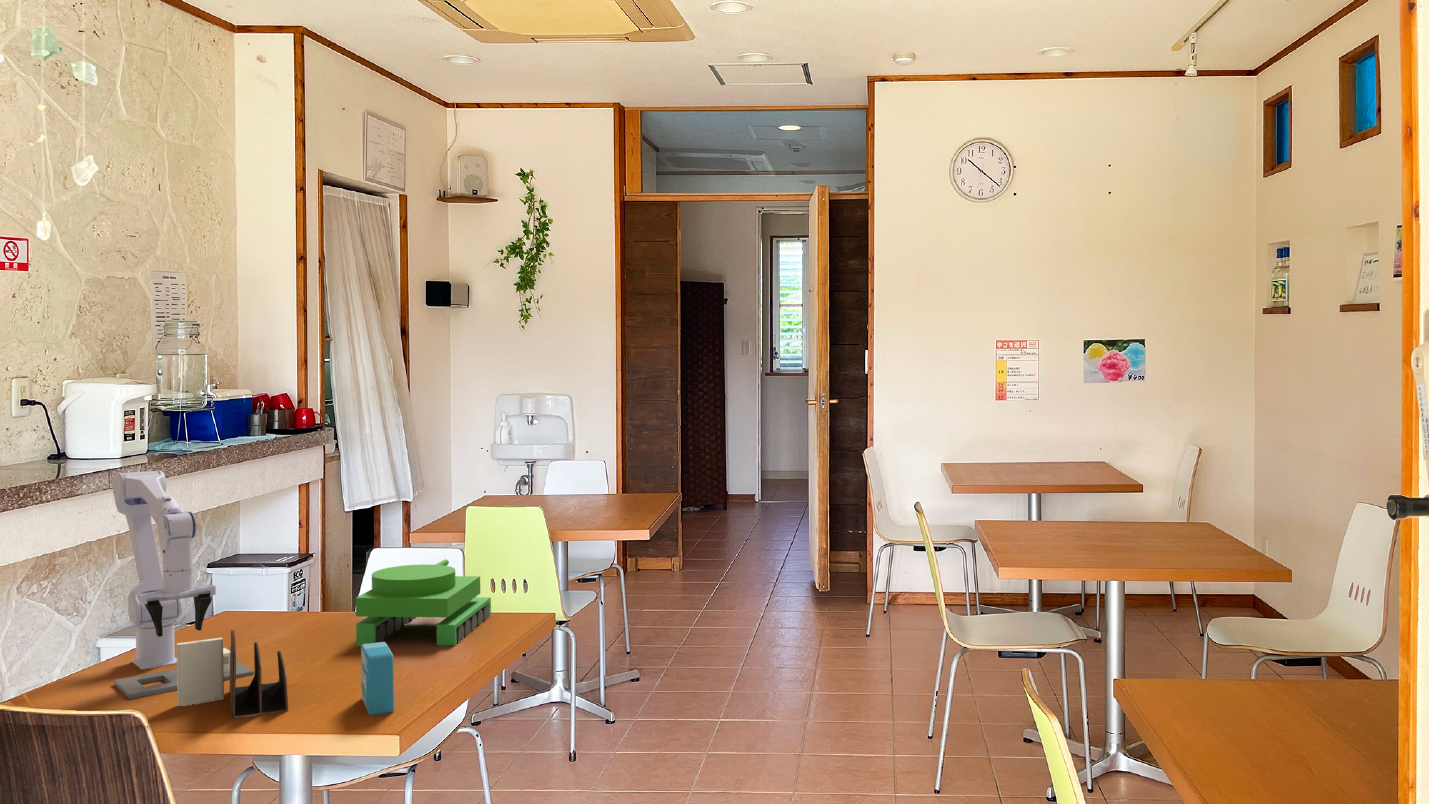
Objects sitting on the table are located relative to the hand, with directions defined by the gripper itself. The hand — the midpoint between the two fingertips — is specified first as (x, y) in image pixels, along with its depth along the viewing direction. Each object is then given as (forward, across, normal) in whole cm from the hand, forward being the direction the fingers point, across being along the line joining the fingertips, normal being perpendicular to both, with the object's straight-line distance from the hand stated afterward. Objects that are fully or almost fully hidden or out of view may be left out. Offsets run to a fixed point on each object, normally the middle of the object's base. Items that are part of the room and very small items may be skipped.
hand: (179, 632), depth 227 cm
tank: (+10, +58, 0) cm, 59 cm away
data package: (+10, +22, -50) cm, 56 cm away
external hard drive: (+10, -2, -23) cm, 25 cm away
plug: (+10, +7, -4) cm, 12 cm away
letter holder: (+10, +6, -31) cm, 33 cm away
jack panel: (+9, 0, -4) cm, 10 cm away
